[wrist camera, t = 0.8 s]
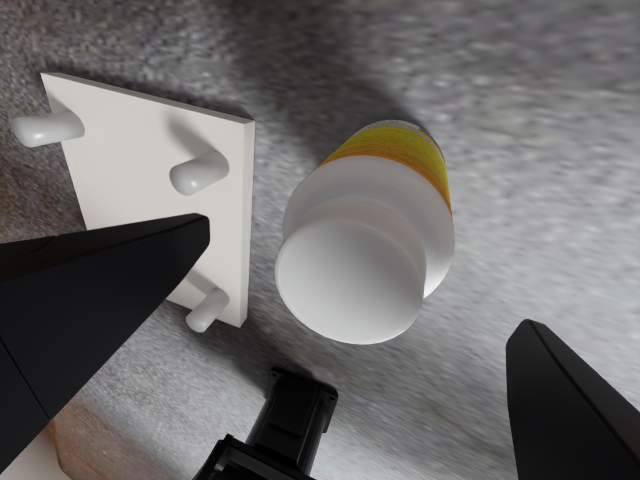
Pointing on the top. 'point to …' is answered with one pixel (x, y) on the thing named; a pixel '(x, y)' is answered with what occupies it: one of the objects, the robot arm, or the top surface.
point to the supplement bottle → (367, 235)
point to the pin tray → (158, 177)
